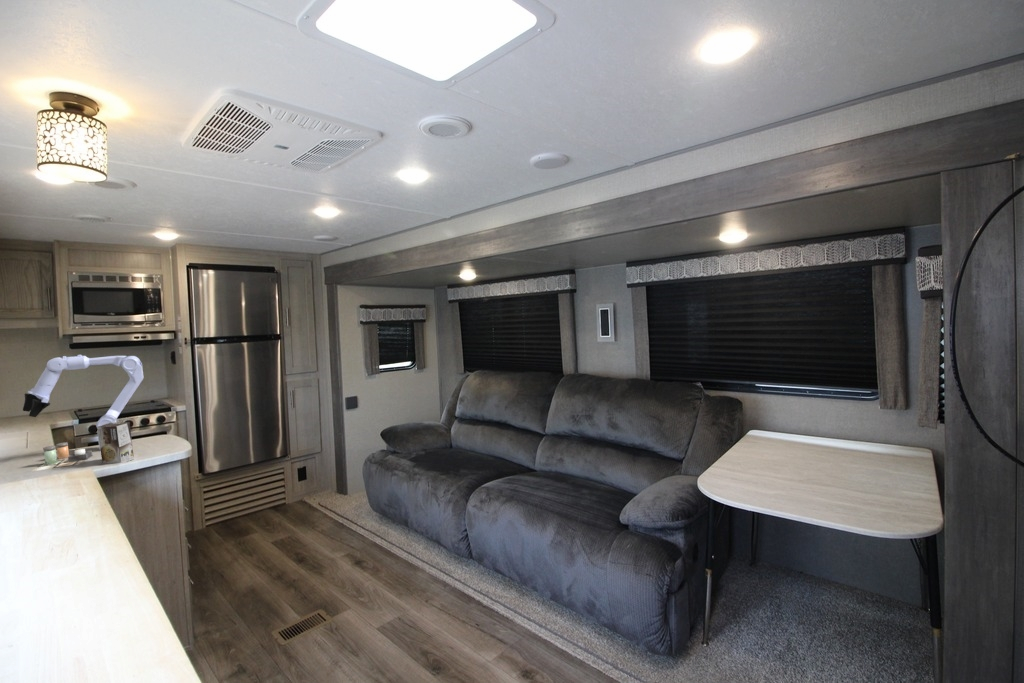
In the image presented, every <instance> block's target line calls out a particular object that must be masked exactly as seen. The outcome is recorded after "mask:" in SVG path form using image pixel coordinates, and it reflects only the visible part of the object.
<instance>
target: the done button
mask: <svg viewBox="0 0 1024 683" xmlns="http://www.w3.org/2000/svg"><path fill="white" fill-rule="evenodd" d="M85 451H86V448H79V449H75V450H74V451H73V453H75V455H82V454H85Z"/></svg>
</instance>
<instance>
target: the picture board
mask: <svg viewBox="0 0 1024 683" xmlns="http://www.w3.org/2000/svg"><path fill="white" fill-rule="evenodd" d="M92 457H93V450H85V454H82V455H75V452H73V453H72V454H71V455H70V454H69V457H68V458H66V459H57V463H55V464H51V465H45V462H42V463H41V464H39V465H38V466H37V467H36V468H33V470H31V472H37V471H42V470H43V471H44V470H49V469H56V468H57V469H58V468H65V467H74V466H78V465H80V464H82V463H83V462H85V461H87V460H88V459H90V458H92Z"/></svg>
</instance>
